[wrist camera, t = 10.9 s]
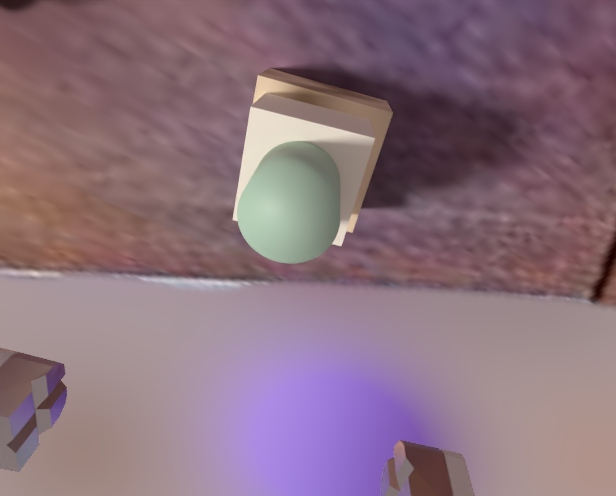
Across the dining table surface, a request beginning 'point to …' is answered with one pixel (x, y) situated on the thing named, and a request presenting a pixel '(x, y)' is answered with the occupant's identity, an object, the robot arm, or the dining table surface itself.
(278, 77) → the tower base
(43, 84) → the dining table surface
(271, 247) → the sage green capsule
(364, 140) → the tower top
